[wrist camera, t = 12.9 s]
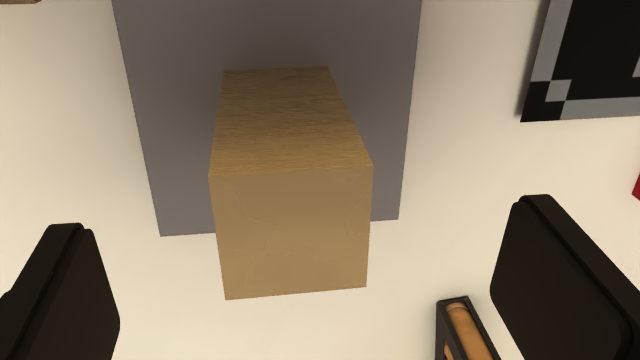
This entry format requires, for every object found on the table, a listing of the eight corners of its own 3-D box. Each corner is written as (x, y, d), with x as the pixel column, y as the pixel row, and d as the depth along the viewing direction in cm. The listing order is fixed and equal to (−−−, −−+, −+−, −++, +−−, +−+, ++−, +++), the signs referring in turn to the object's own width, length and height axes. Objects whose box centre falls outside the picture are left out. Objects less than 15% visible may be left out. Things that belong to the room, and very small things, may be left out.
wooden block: (327, 66, 19) (373, 165, 12) (327, 157, 21) (366, 286, 14) (223, 70, 18) (207, 176, 11) (233, 163, 20) (225, 300, 13)
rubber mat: (419, -34, 18) (425, -31, 17) (394, 212, 23) (397, 219, 23) (110, -30, 17) (105, -27, 16) (162, 228, 22) (160, 236, 22)
